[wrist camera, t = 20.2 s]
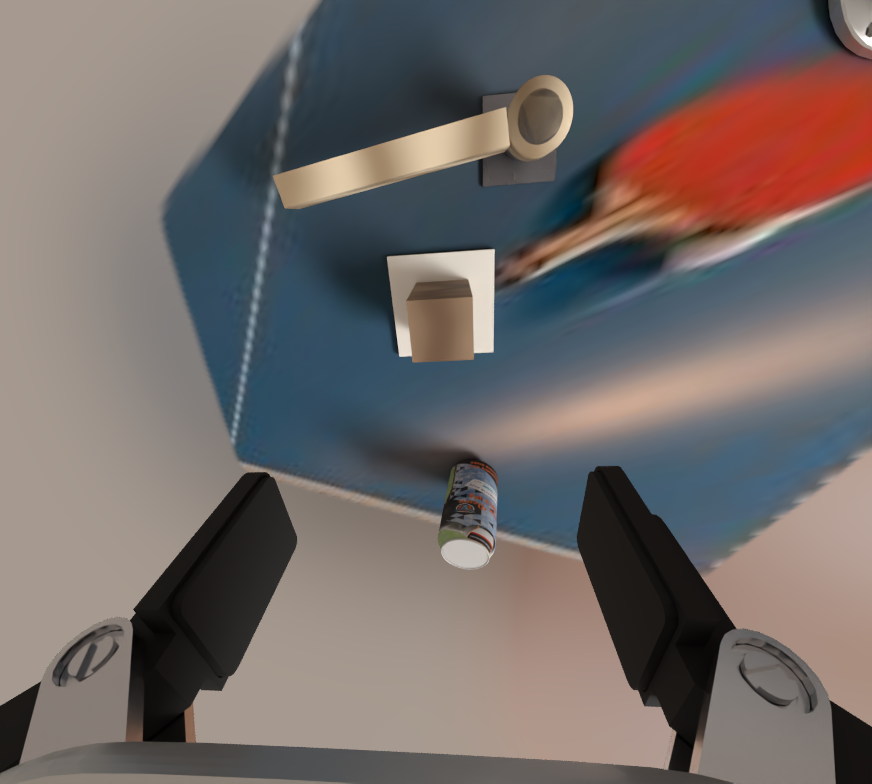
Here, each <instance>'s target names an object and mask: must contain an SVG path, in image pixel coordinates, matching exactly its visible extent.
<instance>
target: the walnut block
mask: <svg viewBox="0 0 872 784" xmlns="http://www.w3.org/2000/svg"><path fill="white" fill-rule="evenodd" d="M406 305H407V314H408V323H409V333H410V342H411V351H412V360H413V362H433V361H454V360H474V337H473V296H472V292H471V288H470V284H469V280H468V279H466V280H451V281H435V282H419V283H416V284H415V286H414V288H413V289H412V291H411V293H410V295H409V297H408V298H407V300H406Z"/></svg>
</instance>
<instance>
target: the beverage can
mask: <svg viewBox="0 0 872 784" xmlns="http://www.w3.org/2000/svg"><path fill="white" fill-rule="evenodd" d="M497 486H498V477H497V474H496V472H495V470H494V469H493V468H492V467H491V466H490V465H488V464H486V463H484V462H482V461H478V460H465V461H461V462H459V463H457V464H456V465H455V466H454V467H453V468H452V470H451V472H450V478H449V483H448V488H447V493H446V498H445V503H444V508H443V513H442V518H441V524H440V529H439V534H438V542H439V545H440V548H441V554H442V556H443V558H444V559H445V560H446V561H447V562H448V563H450V564H451V565H453V566H455V567H458V568H462V569H479V568H482V567H484V566H485V565H486V564H487V563H488V562H489V558H490V557H491V556H492V554H493V553H494V550H495V547H496V519H497Z"/></svg>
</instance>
